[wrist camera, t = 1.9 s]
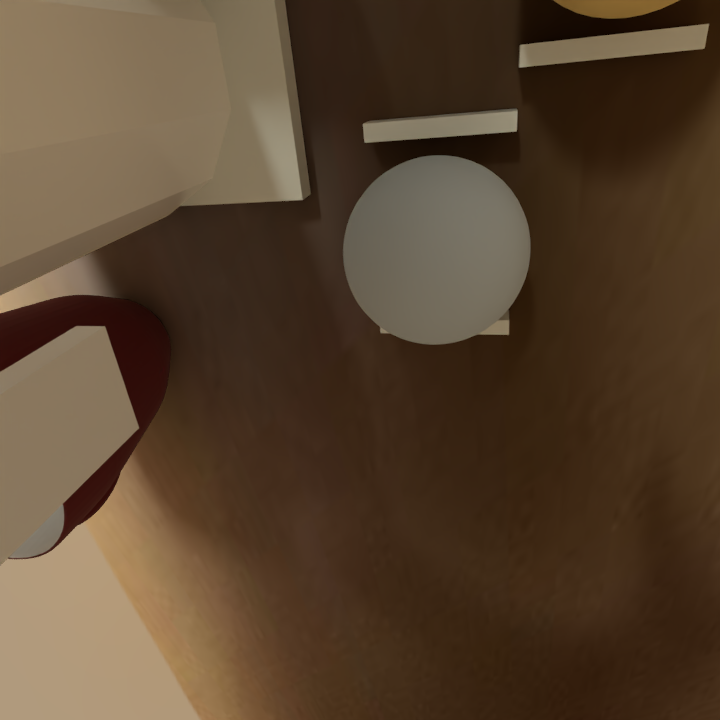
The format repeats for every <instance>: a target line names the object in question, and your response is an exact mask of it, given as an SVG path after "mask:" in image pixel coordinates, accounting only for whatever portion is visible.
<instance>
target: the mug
mask: <svg viewBox="0 0 720 720" xmlns="http://www.w3.org/2000/svg"><path fill="white" fill-rule="evenodd" d="M75 326H105V328H106V331H107V334H108V337H109V340H110V343H111V346H112V349H113V352H114V355H115V358H116V361H117V364H118V367H119V370H120V373H121V376H122V379H123V381H124V384H125V387H126V390H127V393H128V396H129V399H130V402H131V405H132V408H133V411H134V414H135V417H136V420H137V423H138V426H139V429H138V430H137V431H136V432H135V433H134V434H133V435H132V436H131V437H130V438H129V439H128V440H126V441H125V442H124V443H123V444H122V445H121V446H120V447H119V448H118V449H117V450H116V451H115V452H114V453H113V454H112V455H111V456H110V457H109V458H108V459H107V460H106V461H105V462H104V463H103V464H102V465H101V466H100V467H99V468H98V469H97V470H96V471H95V472H94V473H93V474H92V475H91V476H90V477H89V478H88V479H87V480H86V481H85V482H84V483H83V484H82V485H81V486H80V487H79V488H78V489H77V490H76V491H75V492H74V493H73V494H72V495H71V496H70V497H69V498H68V499H67V500H66V501H65V502H64V503H63V504H62V505H61V506H60V507H59V508H58V509H57V510H56V511H55V512H54V513H53V514H52V515H51V516H50V517H49V518H48V519H47V520H46V521H45V522H44V523H43V524H42V525H41V526H40V527H39V528H38V529H37V530H36V531H35V532H34V533H33V534H32V535H31V536H30V537H29V538H28V539H27V540H26V541H25V542H24V543H23V544H22V545H21V546H20V547H19V548H18V549H17V550H16V551H15V552H14V553H13V554H12V555H11V556H10V557H9V558H8V559H28V558H34V557H39V556H41V555H44V554H46V553H48V552H50V551H51V550H53V549H54V548H55V547H56V546H57V545H59V543H61V542H62V540H63V539H64V538H65V537H66V536H67V535H68V534H69V533H70V532H71V531H72V530H73V529H74V528H75V527H76V526H77V525H79V524H81V523H83V522H84V521H86V520H88V519H89V518H90V517H91V516H92V515H94V514H95V513H96V512H97V511H98V510H99V509H100V508H101V507H102V505H103V504H104V503H105V501H106V500H107V499H108V497H109V496H110V494H111V493H112V491H113V489H114V487H115V485H116V483H117V481H118V478H119V475H120V472H121V470H122V468H123V467H124V465H125V464H126V462H127V460H128V459H129V457H130V455H131V454H132V452H133V450H134V449H135V447H136V446H137V444H138V442H139V441H140V439H141V437H142V436H143V434H144V432H145V431H146V429H147V427H148V426H149V424H150V423H151V421H152V419H153V418H154V416H155V414H156V413H157V411H158V409H159V407H160V405H161V403H162V401H163V398H164V395H165V392H166V388H167V383H168V377H169V368H170V356H171V346H170V340H169V337H168V334H167V332H166V330H165V328H164V326H163V325H162V323H161V322H160V321H159V319H158V318H157V317H156V316H155V315H154V314H153V313H152V312H151V311H149V310H148V309H147V308H145V307H144V306H142V305H140V304H138V303H135V302H133V301H130V300H126V299H119V298H111V297H103V296H93V295H72V296H63V297H58V298H54V299H50V300H46V301H43V302H39V303H36V304H32V305H29V306H25V307H22V308H18V309H14V310H11V311H7V312H4V313H0V372H1V371H3V370H4V369H6V368H8V367H9V366H11V365H13V364H14V363H16V362H18V361H19V360H21V359H23V358H24V357H26V356H28V355H29V354H31V353H33V352H34V351H36V350H37V349H39V348H41V347H42V346H44V345H46V344H47V343H49V342H51V341H52V340H54V339H56V338H57V337H59V336H61V335H62V334H64V333H65V332H67V331H69V330H70V329H72V328H74V327H75Z"/></svg>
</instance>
